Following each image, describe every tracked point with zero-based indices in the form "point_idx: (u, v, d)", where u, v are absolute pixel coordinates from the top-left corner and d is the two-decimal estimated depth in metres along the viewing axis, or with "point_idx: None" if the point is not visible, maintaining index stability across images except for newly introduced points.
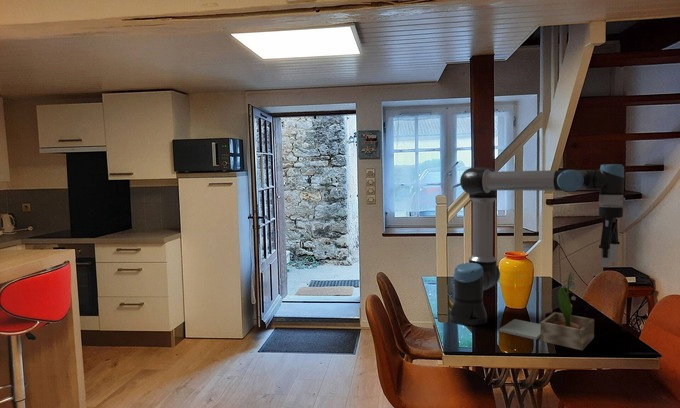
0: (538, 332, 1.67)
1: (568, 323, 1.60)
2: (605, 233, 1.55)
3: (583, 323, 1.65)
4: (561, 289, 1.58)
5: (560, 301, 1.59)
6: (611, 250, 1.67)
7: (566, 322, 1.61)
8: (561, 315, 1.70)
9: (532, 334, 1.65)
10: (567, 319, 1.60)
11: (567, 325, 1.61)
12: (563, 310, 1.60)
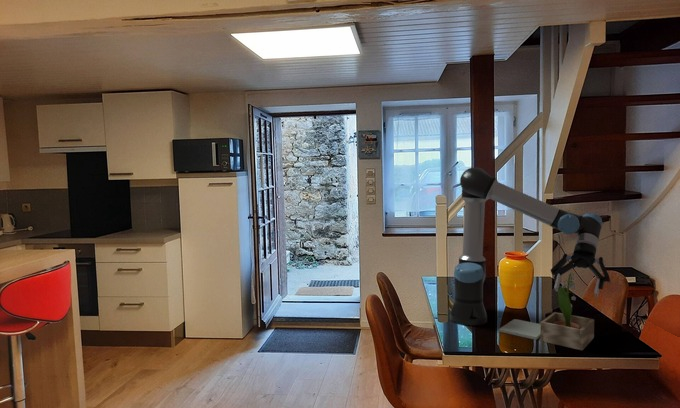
0: (538, 332, 1.67)
1: (568, 323, 1.60)
2: None
3: (583, 323, 1.65)
4: (561, 289, 1.58)
5: (560, 301, 1.59)
6: (559, 280, 1.70)
7: (566, 322, 1.61)
8: (561, 315, 1.70)
9: (532, 334, 1.65)
10: (567, 319, 1.60)
11: (567, 325, 1.61)
12: (563, 310, 1.60)
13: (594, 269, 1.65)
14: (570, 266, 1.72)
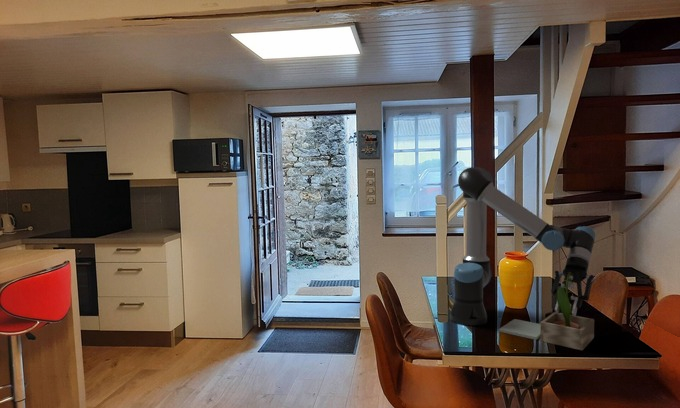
0: (538, 332, 1.67)
1: (568, 323, 1.60)
2: (590, 287, 1.61)
3: (583, 323, 1.65)
4: (560, 289, 1.58)
5: (559, 301, 1.60)
6: None
7: (565, 322, 1.61)
8: (561, 315, 1.70)
9: (532, 334, 1.65)
10: (566, 319, 1.60)
11: (567, 325, 1.61)
12: (562, 310, 1.60)
13: (578, 286, 1.62)
14: None
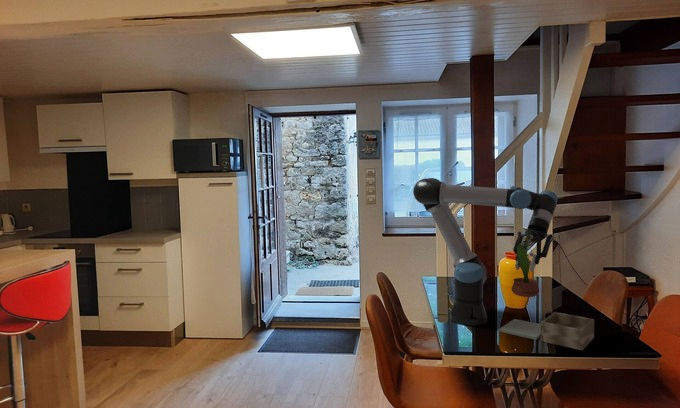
0: (538, 332, 1.67)
1: (526, 278, 1.70)
2: (548, 245, 1.70)
3: (583, 323, 1.65)
4: (520, 246, 1.67)
5: (519, 257, 1.69)
6: None
7: (524, 278, 1.70)
8: (561, 315, 1.70)
9: (532, 334, 1.65)
10: (525, 274, 1.69)
11: (525, 280, 1.70)
12: (521, 266, 1.69)
13: (537, 244, 1.71)
14: None
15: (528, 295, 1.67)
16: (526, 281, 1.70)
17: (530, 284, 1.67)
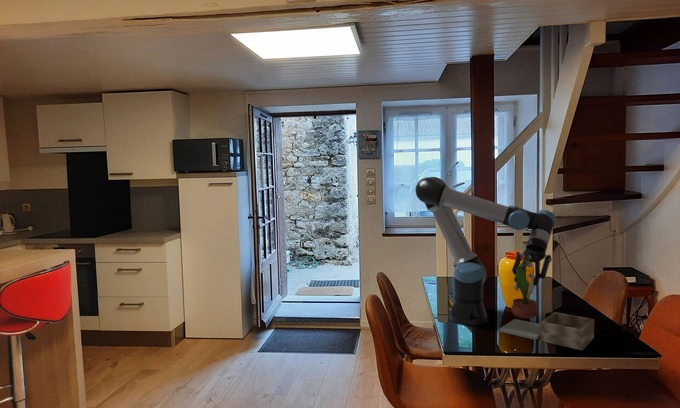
0: (538, 332, 1.67)
1: (525, 299, 1.71)
2: (547, 266, 1.71)
3: (583, 323, 1.65)
4: (518, 267, 1.68)
5: (518, 279, 1.69)
6: None
7: (523, 299, 1.71)
8: (561, 315, 1.70)
9: (532, 334, 1.65)
10: (524, 295, 1.70)
11: (525, 301, 1.71)
12: (520, 287, 1.70)
13: (536, 265, 1.72)
14: None
15: (528, 316, 1.67)
16: (525, 302, 1.71)
17: (529, 305, 1.67)
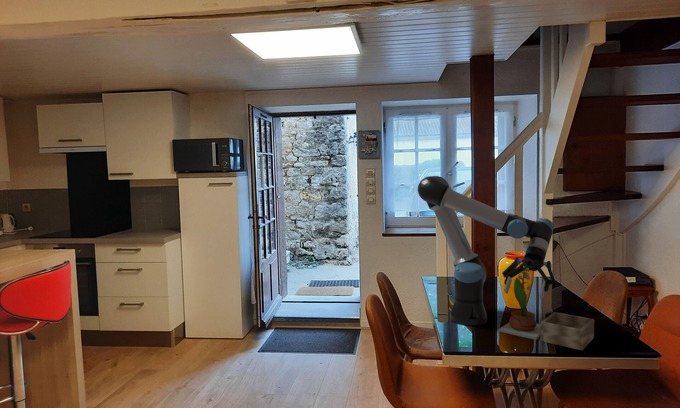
0: (538, 332, 1.67)
1: (523, 312, 1.71)
2: None
3: (583, 323, 1.65)
4: (517, 280, 1.69)
5: (516, 291, 1.70)
6: (509, 282, 1.77)
7: (521, 311, 1.72)
8: (561, 315, 1.70)
9: (532, 334, 1.65)
10: (522, 308, 1.71)
11: (523, 314, 1.72)
12: (518, 299, 1.71)
13: (541, 272, 1.72)
14: (520, 269, 1.78)
15: (526, 329, 1.68)
16: (523, 314, 1.71)
17: (528, 318, 1.68)
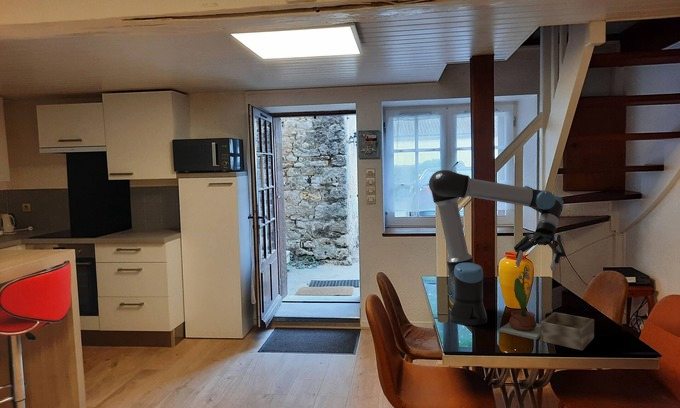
0: (538, 332, 1.67)
1: (523, 312, 1.71)
2: (562, 245, 1.79)
3: (583, 323, 1.65)
4: (517, 280, 1.69)
5: (516, 291, 1.70)
6: (520, 256, 1.85)
7: (521, 311, 1.72)
8: (561, 315, 1.70)
9: (532, 334, 1.65)
10: (522, 308, 1.71)
11: (523, 314, 1.72)
12: (518, 299, 1.71)
13: (552, 245, 1.79)
14: (531, 243, 1.86)
15: (526, 329, 1.68)
16: (523, 314, 1.71)
17: (528, 318, 1.68)
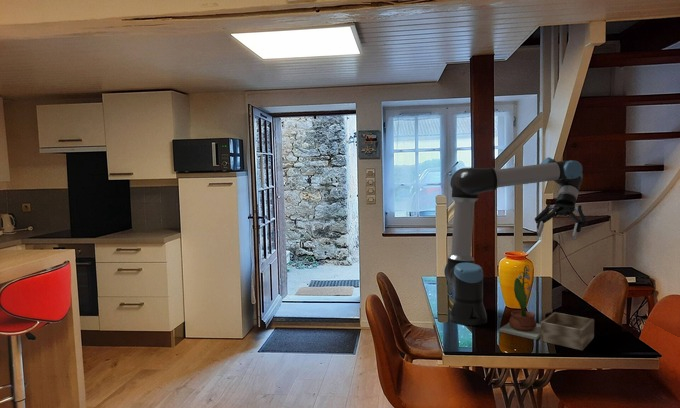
0: (538, 332, 1.67)
1: (523, 312, 1.71)
2: (583, 215, 1.82)
3: (583, 323, 1.65)
4: (517, 280, 1.69)
5: (516, 291, 1.70)
6: (541, 226, 1.88)
7: (521, 311, 1.72)
8: (561, 315, 1.70)
9: (532, 334, 1.65)
10: (522, 308, 1.71)
11: (523, 314, 1.72)
12: (518, 299, 1.71)
13: (573, 215, 1.83)
14: (552, 214, 1.89)
15: (526, 329, 1.68)
16: (523, 314, 1.71)
17: (528, 318, 1.68)
